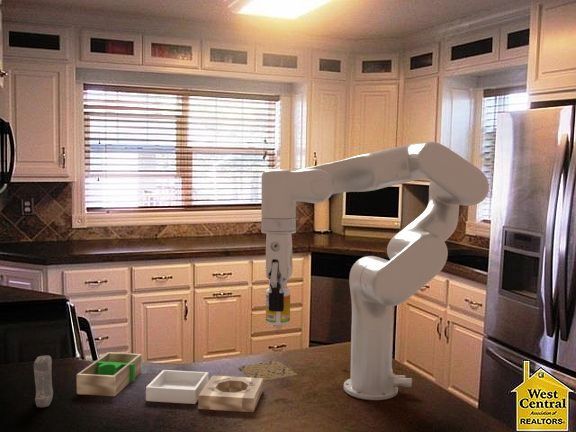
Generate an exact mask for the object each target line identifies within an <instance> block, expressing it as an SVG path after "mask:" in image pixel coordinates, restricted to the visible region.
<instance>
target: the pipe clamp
mask: <svg viewBox="0 0 576 432" xmlns="http://www.w3.org/2000/svg"><path fill="white" fill-rule="evenodd" d="M95 361H96V360H93V361H92V363H94V362H95ZM92 363H91V364H92ZM127 364H128V363H119V362H104V361H98V362H97V369H98V373H97V375H112V376H113V375H114V374H116V373H117V372H118V371H119V370H121V369H122V368H123V367H124V366H125V365H127ZM135 381H136V377H135V363H131V364H130V383H134V382H135Z"/></svg>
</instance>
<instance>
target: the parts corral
mask: <svg viewBox="0 0 576 432" xmlns="http://www.w3.org/2000/svg"><path fill="white" fill-rule="evenodd" d="M94 361H95V362H94ZM94 361H93V362H94V363H91V364H89V365H88V366H86V367H85V368H84V369H82V370H81V371H79V372H78V373H77V374H76V394H77V395H90V396H107V397H115V396H117V395H118V394H119V393H120V392H121V391H122V390H123V389H124V388H125V387H127V386H128V385H129V384H130V383H131V382H130V364H131V363H135V378H137V376H139V375H140V374H141V373H142V372H143V370H142V369H143V354H142V353H128V352H126V353H125V352H111V351H109V352H108V351H107V352H106V353H105V354H104V355H102V356H101V357H99V358H98V359H96V360H94ZM98 361H104V362H119V363H128V364H127V365H125V366H124V367H123V368H122V369H121V370H119V371H118V372H117V373H116V374H114V375H113V376H112V375H97V373H98V369H97V362H98Z"/></svg>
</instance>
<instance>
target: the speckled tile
mask: <svg viewBox="0 0 576 432" xmlns="http://www.w3.org/2000/svg"><path fill="white" fill-rule="evenodd" d="M237 369H238V370H239V369H240V371H241V372H242V371H243V372H244V373H245V374H244V373H243V372H242V373H243V374H244V375H246V374H247V375H248V376H249V377H250V378H263V382H268V381H269V382H270V381H273V380H280V379H286V378H291V377H296V376H298V374H297V372H295V371H294V370H292V369H290V368H289V367H287V366H286V365H285V364H284V363H283V362H281V361H279V360H273V361H271V360H270V361H267V362H260V363H255V364H248V365H241V366H238V367H237ZM247 375H246V376H247ZM248 376H247V377H248Z"/></svg>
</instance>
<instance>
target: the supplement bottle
mask: <svg viewBox="0 0 576 432" xmlns="http://www.w3.org/2000/svg"><path fill="white" fill-rule="evenodd" d="M279 284H280V282H279ZM269 285H270V279H268V286H269ZM286 287H287V288H286ZM282 293H284V310H283V311H282V312H278V311H269V288H267V289H266V291H265V323H266V324H268V325H271V326H285V325H288V324H290V323H291V291H290V289H289V288H288V280H286V279H285V278H283V291H282Z"/></svg>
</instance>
